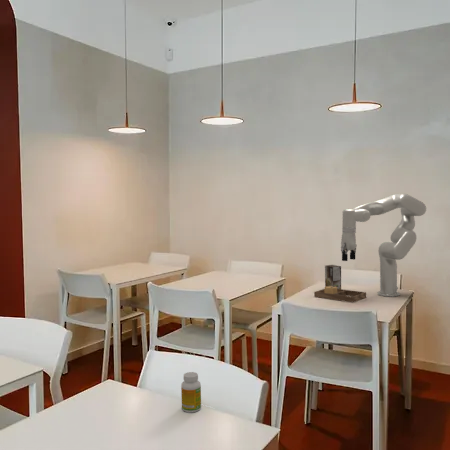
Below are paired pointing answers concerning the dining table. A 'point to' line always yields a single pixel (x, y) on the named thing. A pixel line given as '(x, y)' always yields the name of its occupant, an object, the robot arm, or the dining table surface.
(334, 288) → the marked cube
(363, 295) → the organiser
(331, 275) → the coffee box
